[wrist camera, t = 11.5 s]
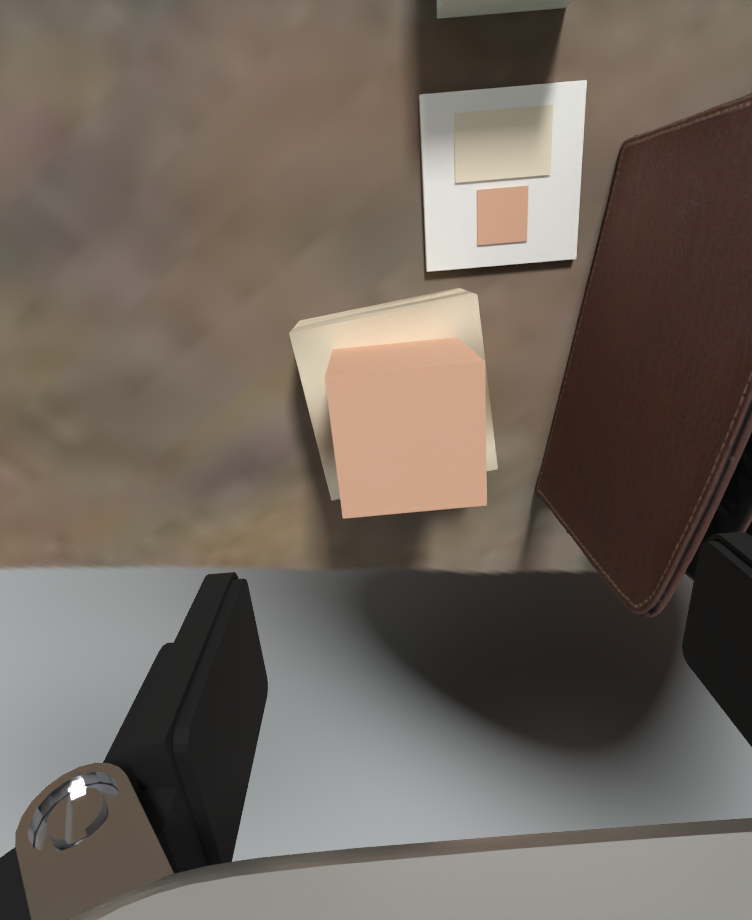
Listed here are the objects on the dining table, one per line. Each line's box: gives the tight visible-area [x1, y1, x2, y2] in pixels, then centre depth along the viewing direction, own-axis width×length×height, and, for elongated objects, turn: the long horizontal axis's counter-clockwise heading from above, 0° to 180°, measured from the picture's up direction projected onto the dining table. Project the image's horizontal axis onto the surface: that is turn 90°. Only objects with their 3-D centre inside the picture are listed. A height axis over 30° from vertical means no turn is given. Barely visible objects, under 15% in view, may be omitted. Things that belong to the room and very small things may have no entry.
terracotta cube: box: [325, 337, 487, 519], centre depth 23 cm, size 6×6×6 cm
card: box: [419, 80, 587, 272], centre depth 27 cm, size 8×8×1 cm
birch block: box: [289, 288, 498, 501], centre depth 29 cm, size 9×9×5 cm
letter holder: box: [536, 93, 752, 617], centre depth 24 cm, size 10×20×14 cm, turn 174°
